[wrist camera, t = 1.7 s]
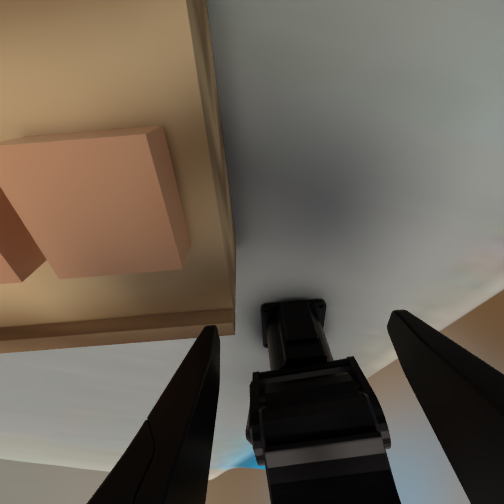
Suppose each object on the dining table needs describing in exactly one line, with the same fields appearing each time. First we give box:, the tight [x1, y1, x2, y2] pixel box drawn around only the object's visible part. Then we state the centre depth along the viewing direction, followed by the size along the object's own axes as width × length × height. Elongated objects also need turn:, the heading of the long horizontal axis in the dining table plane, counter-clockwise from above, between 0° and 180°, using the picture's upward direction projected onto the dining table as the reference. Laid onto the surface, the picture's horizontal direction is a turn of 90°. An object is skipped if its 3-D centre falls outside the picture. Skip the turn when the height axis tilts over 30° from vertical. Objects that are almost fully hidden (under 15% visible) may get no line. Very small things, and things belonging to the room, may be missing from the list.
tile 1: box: [0, 125, 191, 279], centre depth 10 cm, size 5×5×2 cm
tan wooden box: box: [0, 0, 236, 353], centre depth 13 cm, size 16×22×9 cm
